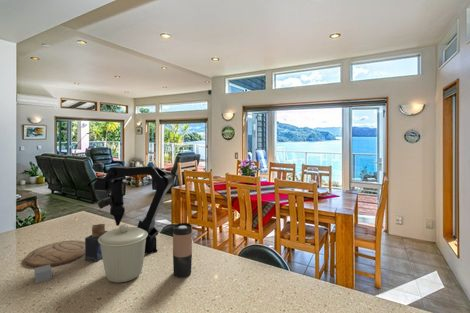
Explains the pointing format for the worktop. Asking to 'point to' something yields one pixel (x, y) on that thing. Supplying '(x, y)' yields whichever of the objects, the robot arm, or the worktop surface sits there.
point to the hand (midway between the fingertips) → (117, 222)
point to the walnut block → (98, 230)
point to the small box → (93, 249)
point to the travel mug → (182, 249)
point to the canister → (123, 252)
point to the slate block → (43, 273)
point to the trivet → (56, 254)
